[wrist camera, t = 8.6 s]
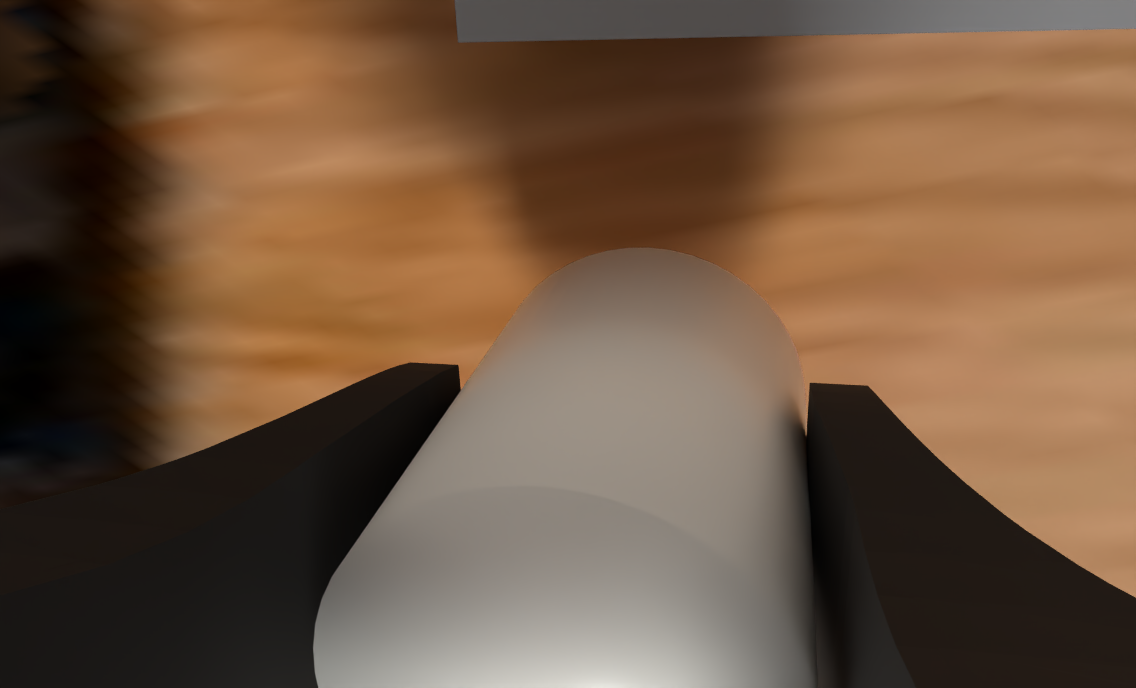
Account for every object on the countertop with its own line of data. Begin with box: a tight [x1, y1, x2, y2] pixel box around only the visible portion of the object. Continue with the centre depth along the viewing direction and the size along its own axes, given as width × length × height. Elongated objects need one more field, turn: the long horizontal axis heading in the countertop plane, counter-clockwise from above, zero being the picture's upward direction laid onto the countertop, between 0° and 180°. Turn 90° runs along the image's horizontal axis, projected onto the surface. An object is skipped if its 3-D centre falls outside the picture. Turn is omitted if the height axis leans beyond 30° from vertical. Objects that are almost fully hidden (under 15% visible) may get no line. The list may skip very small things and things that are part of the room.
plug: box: [313, 248, 818, 688], centre depth 10 cm, size 4×4×6 cm
